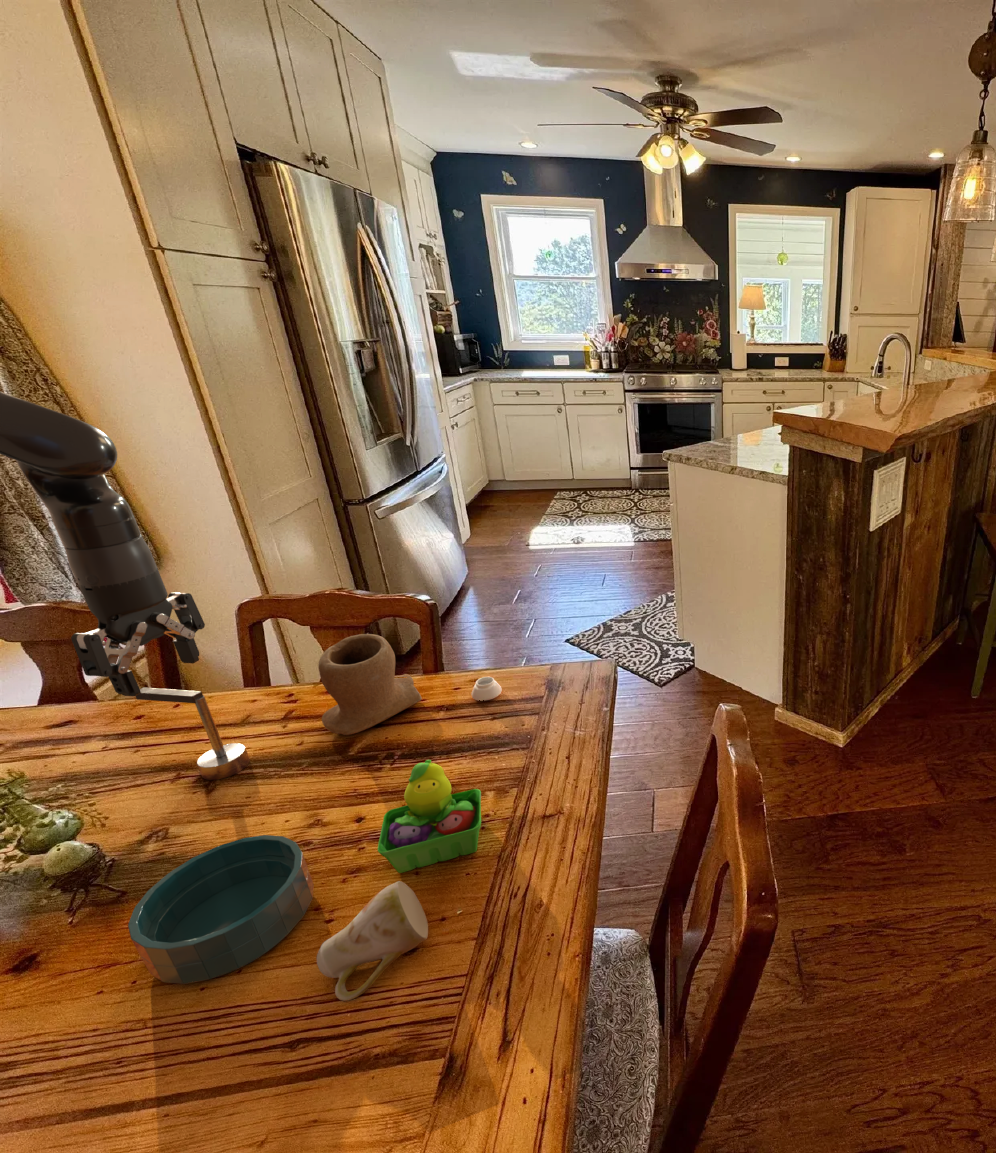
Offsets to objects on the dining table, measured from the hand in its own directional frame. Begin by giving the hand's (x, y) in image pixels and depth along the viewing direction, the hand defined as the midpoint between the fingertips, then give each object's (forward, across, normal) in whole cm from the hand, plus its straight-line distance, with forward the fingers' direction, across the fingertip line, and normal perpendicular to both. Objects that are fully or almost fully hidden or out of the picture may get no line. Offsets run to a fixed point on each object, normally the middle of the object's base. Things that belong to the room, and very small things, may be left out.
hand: (162, 677), depth 87 cm
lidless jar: (+16, -23, +33) cm, 43 cm away
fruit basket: (+16, +11, +44) cm, 48 cm away
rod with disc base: (+16, 0, +1) cm, 16 cm away
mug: (+16, +26, +46) cm, 56 cm away
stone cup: (+16, -15, +18) cm, 29 cm away
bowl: (+15, +24, +28) cm, 40 cm away
